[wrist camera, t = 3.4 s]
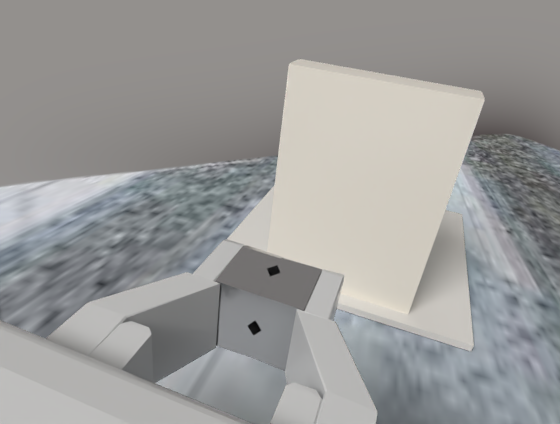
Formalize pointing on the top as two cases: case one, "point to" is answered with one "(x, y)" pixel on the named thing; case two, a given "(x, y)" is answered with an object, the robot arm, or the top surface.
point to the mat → (431, 290)
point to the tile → (367, 175)
